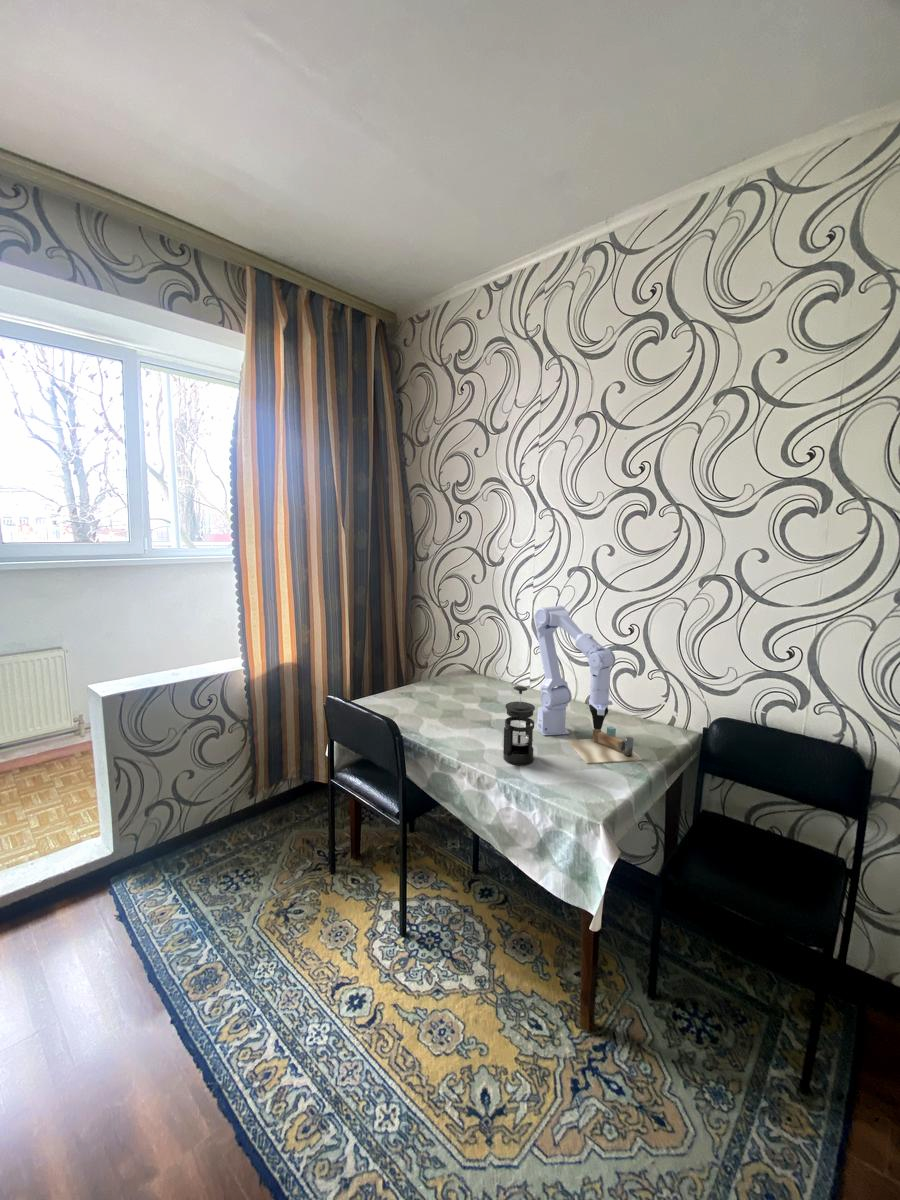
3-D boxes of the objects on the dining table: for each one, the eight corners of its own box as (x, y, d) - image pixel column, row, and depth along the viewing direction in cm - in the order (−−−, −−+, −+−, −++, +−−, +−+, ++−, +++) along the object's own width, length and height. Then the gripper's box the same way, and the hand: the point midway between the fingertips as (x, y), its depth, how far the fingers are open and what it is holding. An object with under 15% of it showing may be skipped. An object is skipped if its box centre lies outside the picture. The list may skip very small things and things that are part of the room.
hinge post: (626, 758, 152) (627, 740, 151) (622, 754, 155) (623, 737, 154) (633, 758, 153) (634, 739, 152) (629, 754, 155) (630, 736, 154)
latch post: (610, 742, 164) (610, 729, 163) (606, 739, 166) (607, 727, 165) (615, 741, 164) (615, 728, 164) (611, 739, 166) (612, 726, 166)
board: (586, 764, 149) (586, 762, 149) (566, 741, 164) (566, 740, 164) (642, 760, 151) (642, 759, 151) (617, 738, 167) (617, 737, 167)
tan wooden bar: (624, 750, 156) (625, 739, 155) (620, 752, 155) (621, 741, 154) (596, 738, 164) (596, 728, 164) (592, 740, 163) (593, 729, 163)
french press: (517, 748, 159) (519, 679, 156) (541, 758, 152) (543, 687, 149) (493, 759, 151) (495, 688, 148) (517, 770, 144) (519, 696, 141)
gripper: (616, 696, 146) (613, 739, 148) (610, 681, 160) (607, 720, 162) (591, 694, 147) (589, 737, 149) (588, 679, 161) (585, 718, 163)
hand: (597, 728), depth 156 cm, fingers closed
